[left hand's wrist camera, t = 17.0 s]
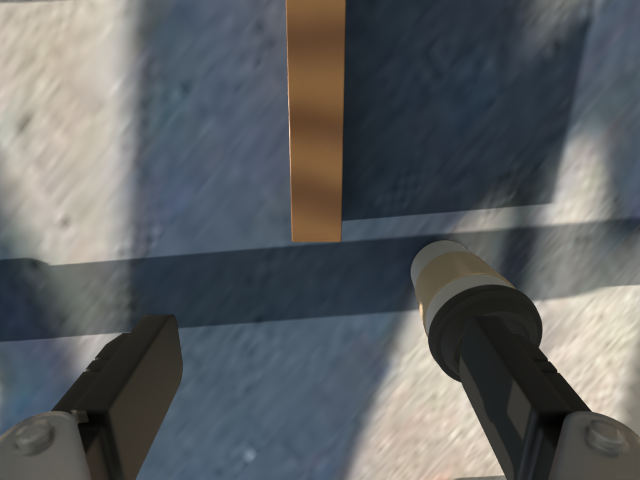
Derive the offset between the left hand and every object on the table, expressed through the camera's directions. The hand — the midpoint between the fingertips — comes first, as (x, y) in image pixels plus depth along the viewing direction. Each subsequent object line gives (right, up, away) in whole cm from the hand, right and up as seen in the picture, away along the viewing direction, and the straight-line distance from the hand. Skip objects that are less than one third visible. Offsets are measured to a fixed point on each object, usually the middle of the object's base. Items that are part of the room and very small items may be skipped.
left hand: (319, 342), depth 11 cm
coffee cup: (+13, 0, +34) cm, 36 cm away
